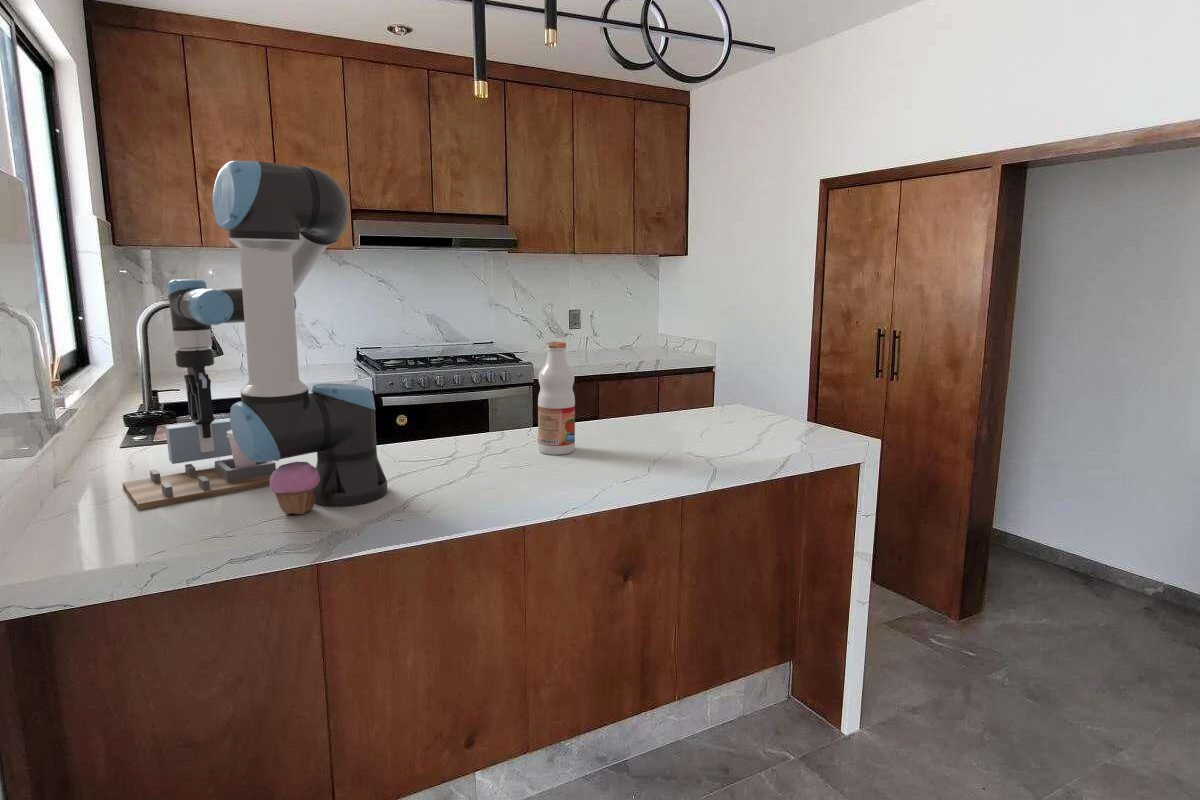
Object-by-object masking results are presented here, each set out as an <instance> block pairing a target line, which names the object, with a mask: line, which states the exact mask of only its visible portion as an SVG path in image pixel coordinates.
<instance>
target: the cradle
mask: <svg viewBox="0 0 1200 800" xmlns="http://www.w3.org/2000/svg"><path fill="white" fill-rule="evenodd" d="M276 467H277V466H276V461H266V462H256V465H251V466H245V467H239V468H235V463H234V459H233V458H227V459H221V460H215V461H214V468H215V471H216V473H217V474H218V475H220V476H221V477H222V478H223V479H224V480H226V481H227V482H233V481H238V480H244V479H250V478H255V477H261V476H267V475H272V473H273V471H274V470H276V469H277V468H276Z"/></svg>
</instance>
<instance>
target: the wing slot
mask: <svg viewBox="0 0 1200 800" xmlns="http://www.w3.org/2000/svg"><path fill="white" fill-rule="evenodd" d="M184 468H185V469H184V471H185V472H186V474H187V475H188V476H189V477H196V471H197V470H196V467H195V466H194V465H193V464H192V463H189V464H187V463H186V464H184ZM149 474H150V478H151V480H152V481H153V482H154V483H160V482H161V478H160V476H161V472H159V471H158V469H157V468H154V469H150V470H149ZM198 482H199V487H200V488H201V489H202V490H203V491H205V490H210V483H209V480H208V479H207V478H206V477H205V476H201V477H198ZM161 486H162V493H163V494H164V495H165V496H166V497H171V496H173V489H172V486H171V485H170V484H169V483H168V482H165V483H161Z"/></svg>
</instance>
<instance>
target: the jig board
mask: <svg viewBox="0 0 1200 800" xmlns="http://www.w3.org/2000/svg"><path fill="white" fill-rule="evenodd" d="M201 476H205V477H206V478H207V479H208V480H209V483H210V490H205V491H203V490H202V489H201V488H200V487H199V482H198V477H201ZM270 477H271V475H267V476H261V477H255V478H250V479H244V480H238V481H233V482H227V481H226V480H224V479H223V478H222V477H221V476H220V475H218V474H217V473H216V471H215V467H211V468H210V467H209V468H204V469H198V470H196V477H189V476H188V475H187V474H186V471H185V472H179V473H174V474H167V475H160V478H161V482H160V483H154V482H153V481H152V480H151V477H148V478H142V479H141V478H140V479H135V480H130V481H125V482H124V481H123V482H121V483H122V489H123V490H124V492H125V493H126V494H127V496H128V498H129V499H130V501H131V502H132V503H133V504H134V506H135V507H136V509H137V510H140V511H141V510H145V509H151V508H156V507H161V506H166V505H171V504H177V503H184V502H188V501H189V502H190V501H194V500H199V499H204V498H205V499H206V498H211V497H215V496H216V497H217V496H222V495H226V494H227V495H228V494H232V493H237V492H242V491H248V490H253V489H259V488H265V487H270ZM165 482H168V483H169V484H170V485H171V486H172V489H173V496H171V497H166V496H165V495H164V494H163V493H162V486H161V483H165Z"/></svg>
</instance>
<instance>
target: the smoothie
mask: <svg viewBox="0 0 1200 800" xmlns="http://www.w3.org/2000/svg"><path fill="white" fill-rule="evenodd" d="M227 437H228V438H229V442H230V446H231V450H232V455H231V456H232V459H234V463H235V468H239V467H245V466H251V465H256V462H253V461H251V460H249V459H248V458H247V457H246V456H245V455H244V454H243V453H242V451H241V450H240V448H239V446H238V445H237V442H236V440H235V438H234V435H233V432H232V430H229V431H227Z"/></svg>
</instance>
